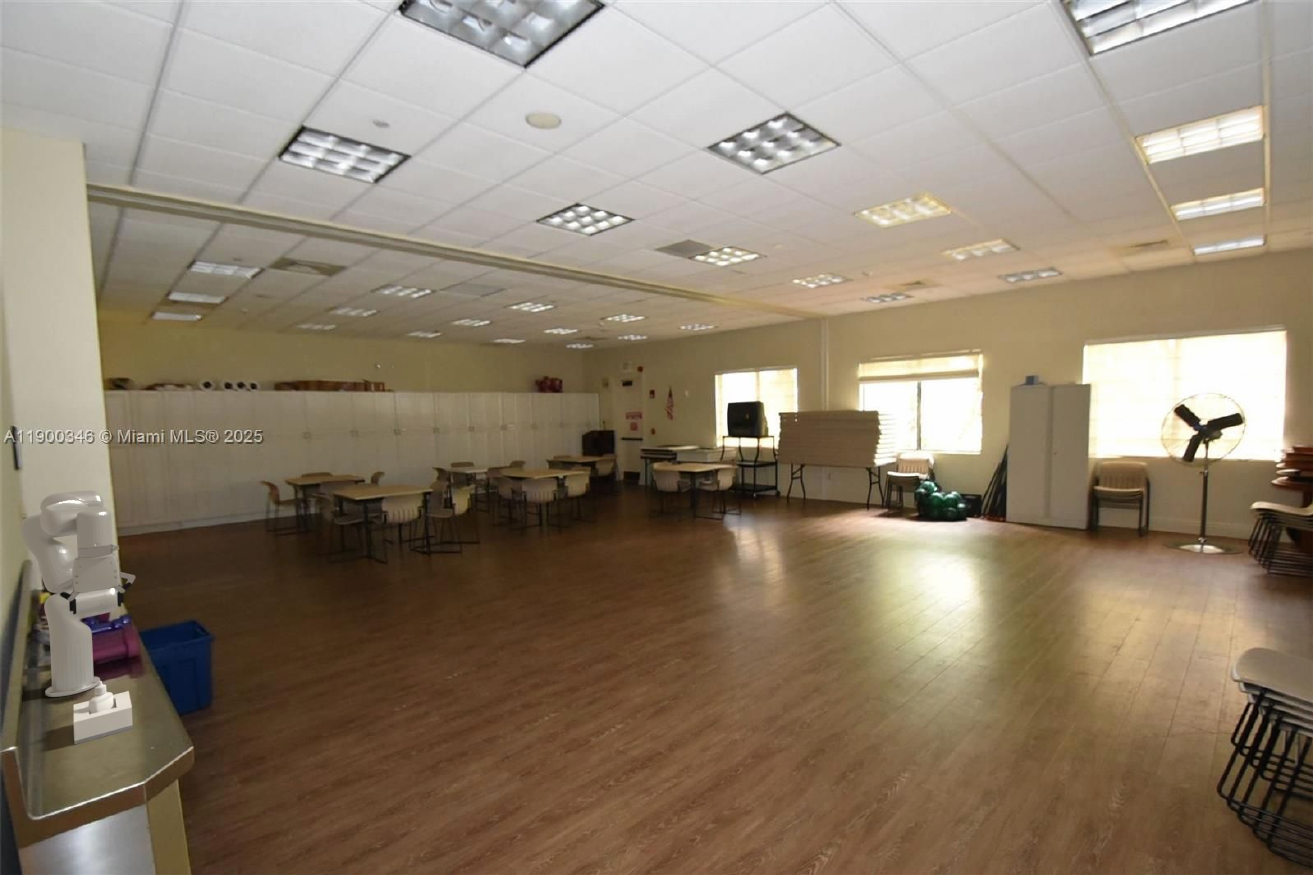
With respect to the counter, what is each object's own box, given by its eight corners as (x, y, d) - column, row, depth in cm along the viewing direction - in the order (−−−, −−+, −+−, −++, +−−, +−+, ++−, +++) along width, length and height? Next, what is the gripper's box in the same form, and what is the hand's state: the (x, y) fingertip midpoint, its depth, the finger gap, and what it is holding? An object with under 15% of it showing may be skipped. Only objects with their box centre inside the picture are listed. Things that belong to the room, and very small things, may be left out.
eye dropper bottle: (118, 720, 168) (116, 678, 168) (92, 730, 163) (90, 687, 163) (111, 717, 170) (109, 676, 170) (86, 726, 165) (83, 684, 165)
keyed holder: (74, 725, 168) (73, 704, 168) (129, 711, 176) (128, 691, 176) (74, 744, 158) (73, 722, 158) (132, 728, 166) (131, 707, 166)
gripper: (133, 545, 184) (135, 600, 185) (53, 554, 172) (56, 613, 173) (135, 549, 179) (137, 605, 179) (53, 559, 167) (55, 619, 167)
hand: (97, 609), depth 176 cm, fingers open, 9 cm apart
